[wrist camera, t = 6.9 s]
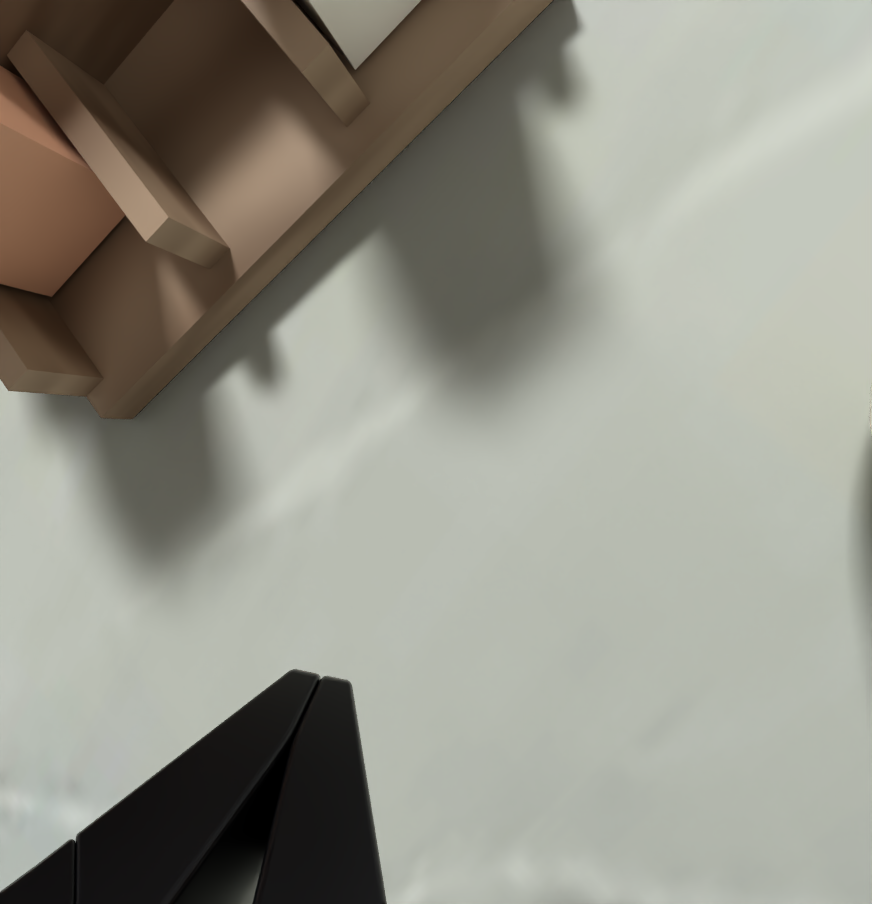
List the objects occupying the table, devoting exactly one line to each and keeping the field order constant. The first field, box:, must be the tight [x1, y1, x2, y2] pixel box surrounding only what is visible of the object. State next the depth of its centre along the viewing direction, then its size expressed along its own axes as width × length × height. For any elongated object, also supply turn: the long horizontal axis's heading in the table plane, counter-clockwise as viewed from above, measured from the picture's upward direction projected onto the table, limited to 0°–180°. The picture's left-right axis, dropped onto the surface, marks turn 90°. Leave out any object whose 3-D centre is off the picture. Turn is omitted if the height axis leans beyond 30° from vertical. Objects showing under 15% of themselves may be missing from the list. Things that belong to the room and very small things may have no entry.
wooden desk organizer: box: [0, 0, 553, 419], centre depth 18 cm, size 10×21×8 cm, turn 129°
